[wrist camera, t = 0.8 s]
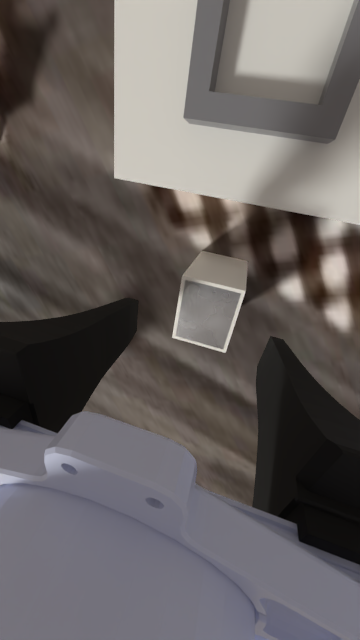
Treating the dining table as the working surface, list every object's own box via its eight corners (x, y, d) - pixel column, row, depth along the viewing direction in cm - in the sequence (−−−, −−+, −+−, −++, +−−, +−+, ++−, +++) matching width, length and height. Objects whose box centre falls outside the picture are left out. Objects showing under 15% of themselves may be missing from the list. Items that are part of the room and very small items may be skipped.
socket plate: (747, -404, 6) (929, -621, 5) (381, 228, 15) (398, 234, 13) (121, -312, 9) (90, -427, 7) (117, 178, 17) (103, 177, 16)
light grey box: (248, 261, 18) (245, 291, 13) (232, 310, 20) (225, 352, 15) (202, 250, 18) (182, 275, 13) (192, 300, 21) (172, 337, 16)
